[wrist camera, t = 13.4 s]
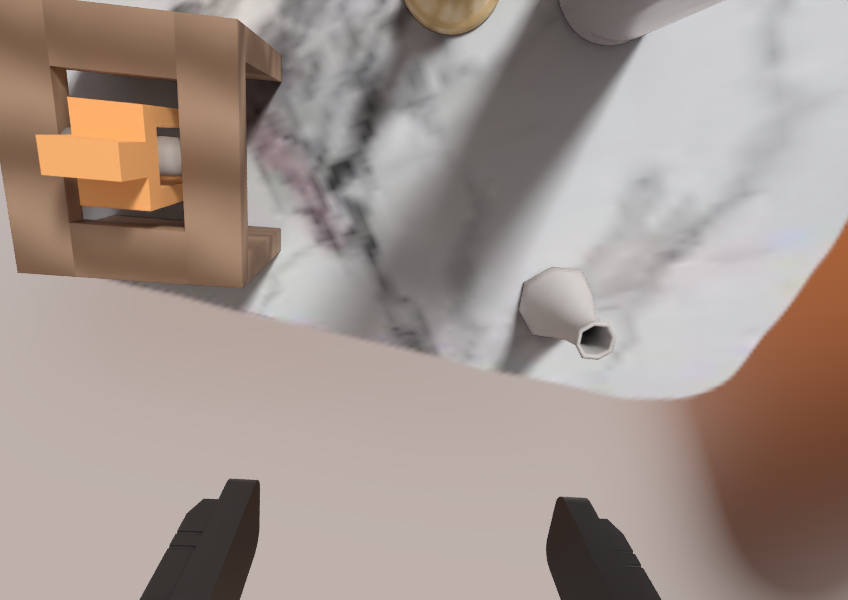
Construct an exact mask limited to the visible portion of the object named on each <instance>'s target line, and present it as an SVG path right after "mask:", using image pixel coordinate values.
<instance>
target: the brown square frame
mask: <svg viewBox="0 0 848 600" xmlns="http://www.w3.org/2000/svg"><path fill="white" fill-rule="evenodd" d="M66 69H67V70H76V71H86V72H95V73H105V74H114V75H124V76H133V77H143V78H153V79H162V80H172V81H177V90H178V108H179V127H180V138H177V137H167V136H157V145H158V159H159V172H160V175H164V176H175V177H182V184H183V203H184V221H180V220H168V219H155V218H143V217H130V216H118V215H114V216H110V217H106V218H103V219H99V220H86V219H83V213H82V206H81V205H80V197H79V189H78V181H77V178H71V177H60V176H48V175H41V169H40V162H39V155H38V149H37V142H36V135H72V133H71V124H70V116H69V108H68V100H67V97H69V90H68V82H67V73H66ZM246 78H248V79H257V80H267V81H276V82H282V55H281V54H280V53H278V52H277V51H276V50H275V49H274V48H272V47H271V46H270V45H269V44H267V43H266V42H265V41H264V40H262V39H261V38H260V37H259V36H257V35H256V34H255V33H254V32H253V31H251V30H250V29H249V28H248V27H246V26H245V25H244V24H243V23H241V22H240V21H239V20H238V19H232V18H223V17H215V16H206V15H198V14H189V13H181V12H172V11H163V10H155V9H146V8H138V7H129V6H121V5H112V4H104V3H95V2H87V1H78V0H0V164H1V170H2V176H3V183H4V188H5V195H6V201H7V208H8V214H9V220H10V226H11V233H12V239H13V245H14V252H15V258H16V264H17V271H18V273H29V274H30V273H31V274H45V275H58V276H73V277H88V278H102V279H116V280H131V281H145V282H160V283H174V284H189V285H203V286H218V287H232V288H243V287H244V286H245V285H246V284H247V283H248V282H249V281H250V280H251V279H252V278H253V277H254V276H255V275H256V274H257V273H258V272H259V271H260V270H261V269H262V268H263V267H264V266H265V265H266V264H267V263H268V262H269V261H271V260H272V259H273V258H274V257H275V256H276V255H277V254H278V253H279V252H280V251H281V229H280V228H268V227H255V226H248V216H247V147H246Z"/></svg>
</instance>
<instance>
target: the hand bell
mask: <svg viewBox="0 0 848 600" xmlns="http://www.w3.org/2000/svg"><path fill="white" fill-rule="evenodd" d="M404 1H405V4H406V6H407V7H408V9H409V11H410V12H411V14H412V15H413V16H414V17H415V18H416V19H417V20H418V21H419V22H420V23H421V24H422V25H424V26H425V27H427V28H429V29H431V30H433V31H435V32H437V33H441V34H449V35H454V34H461V33H465V32H468V31H470V30H473V29H474V28H476V27H478V26H479V25H480V24H482V23H483V22H484V21H485V20H486V19H487V18H488V17H489V16H490V14H491V13H492V12H493V10H494V9H495V7H496V5H497V3H498V1H499V0H404Z"/></svg>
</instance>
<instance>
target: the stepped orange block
mask: <svg viewBox="0 0 848 600" xmlns="http://www.w3.org/2000/svg"><path fill="white" fill-rule="evenodd" d="M67 100H68V108H69V116H70V124H71V133H72V135H36V142H37V149H38V155H39V162H40V169H41V175H48V176H60V177H71V178H77V181H78V189H79V197H80V205H81V206H92V207H104V208H117V209H129V210H141V211H154V210H157V209H160V208H163V207H166V206H169V205H172V204H175V203H179V202H182V201H183V184H182V177H175V176H164V175H160V172H159V159H158V145H157V131H156V127H166V128H180V127H179V109H177V108H169V107H161V106H152V105H144V104H135V103H125V102H115V101H105V100H95V99H85V98H75V97H67Z"/></svg>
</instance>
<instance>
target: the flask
mask: <svg viewBox="0 0 848 600" xmlns="http://www.w3.org/2000/svg"><path fill="white" fill-rule="evenodd" d="M519 311H520V313H521V315H522V317H523V319H524V321H525V322H526V324H527V326H528V328H529V330H530V332H531V334H533V335H539V336H547V337H553V338H558V339H563V340H566V341H568V342H570V343H572V344H574V345H576V347H577V349H578V351H579V353H580V355H581V357H582V358H586V359H597V360H598V359H600V358H602V357H604V356H606V355H608V354H610V353H611V352H613V348H614V345H615V341H616V335H615V333H614V331H613V329H612V326H611V324H610V323H608V322H601V321H600V320H599V319H598V318H597V317H596V313H595V308H594V299H593V295H592V293H591V290H590V288H589V286H588V284H587V282H586V280H585V278H584V276H583V274H582V272H581V270H576V269H566V268H557V267H550V268H549V269H547V270H545V271H543V272H541V273H540V274H538V275H536V276H534V277H532V278H531V279H529V280H527V281H525V282H524V287H523V292H522V298H521V303H520V308H519Z"/></svg>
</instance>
